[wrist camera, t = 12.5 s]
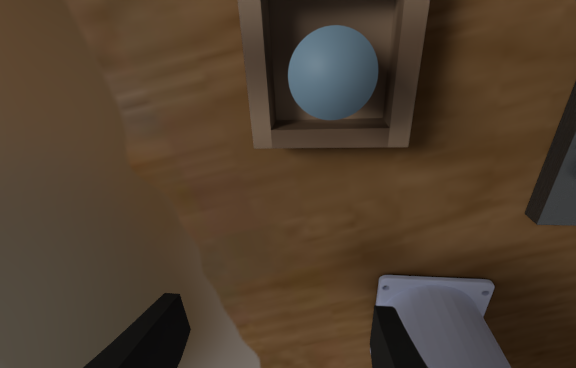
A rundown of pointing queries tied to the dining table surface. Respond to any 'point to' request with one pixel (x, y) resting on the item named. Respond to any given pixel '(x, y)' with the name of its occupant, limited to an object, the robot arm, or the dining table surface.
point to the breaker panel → (558, 175)
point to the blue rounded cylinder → (333, 72)
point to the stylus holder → (281, 45)
